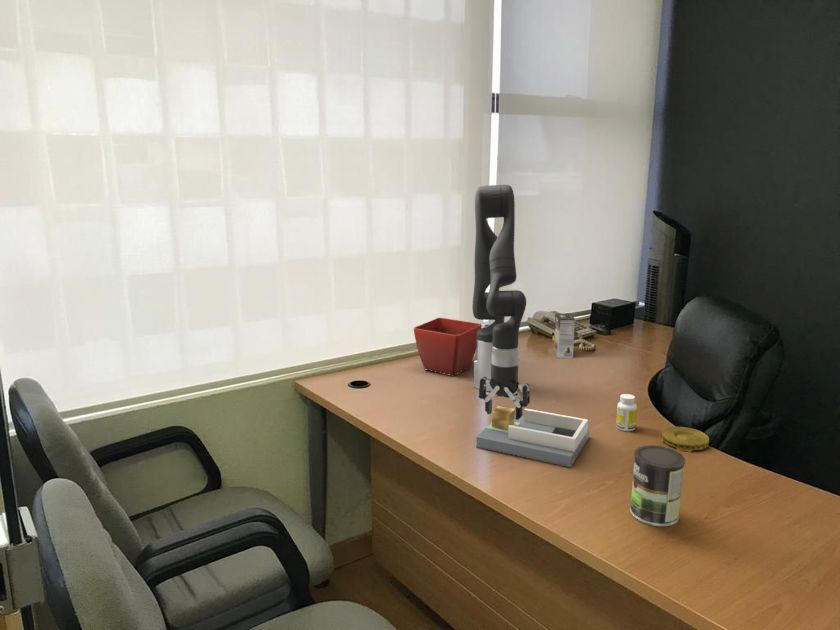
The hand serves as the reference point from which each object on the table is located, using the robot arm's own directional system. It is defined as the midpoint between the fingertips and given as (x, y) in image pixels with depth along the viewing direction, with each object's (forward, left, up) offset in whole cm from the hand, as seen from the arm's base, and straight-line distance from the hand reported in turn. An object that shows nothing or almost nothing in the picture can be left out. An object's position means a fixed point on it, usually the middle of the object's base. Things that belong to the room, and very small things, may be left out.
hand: (503, 416), depth 177 cm
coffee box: (-5, +82, -6) cm, 82 cm away
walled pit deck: (+9, 0, -6) cm, 11 cm away
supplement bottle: (+30, +21, -6) cm, 37 cm away
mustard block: (0, 0, -3) cm, 3 cm away
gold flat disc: (+46, +19, -7) cm, 50 cm away
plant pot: (-39, +46, -6) cm, 61 cm away
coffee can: (+44, -23, -6) cm, 50 cm away
